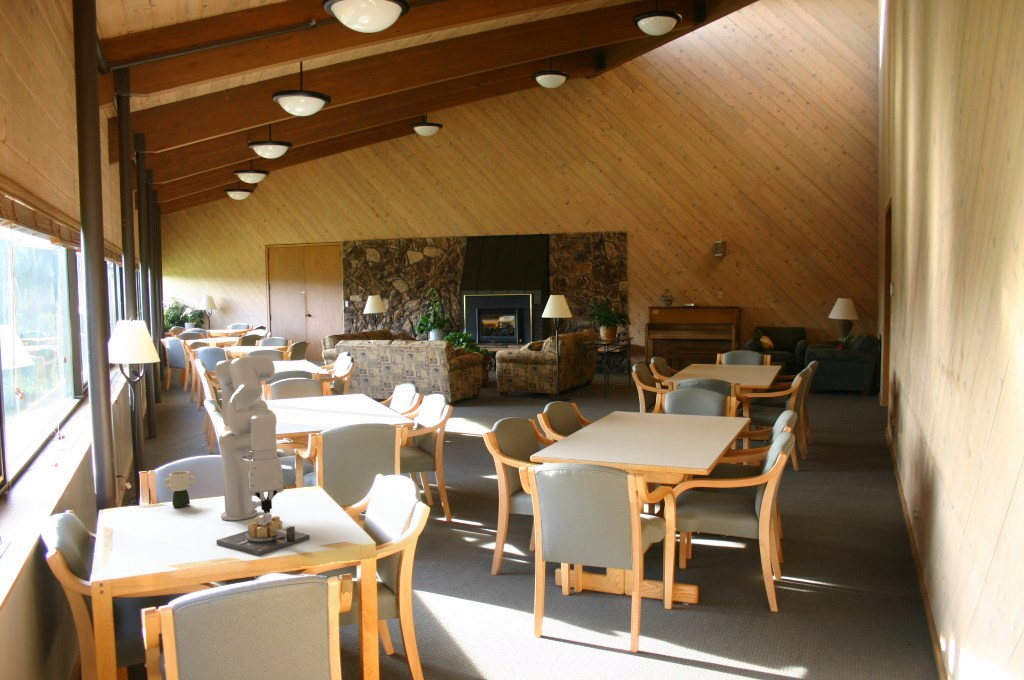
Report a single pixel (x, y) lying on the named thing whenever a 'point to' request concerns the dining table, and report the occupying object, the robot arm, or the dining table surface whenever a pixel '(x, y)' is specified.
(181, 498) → the character mug
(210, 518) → the dining table surface
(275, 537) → the base plate
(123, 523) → the dining table surface
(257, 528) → the knobbed lever handle
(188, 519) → the dining table surface
